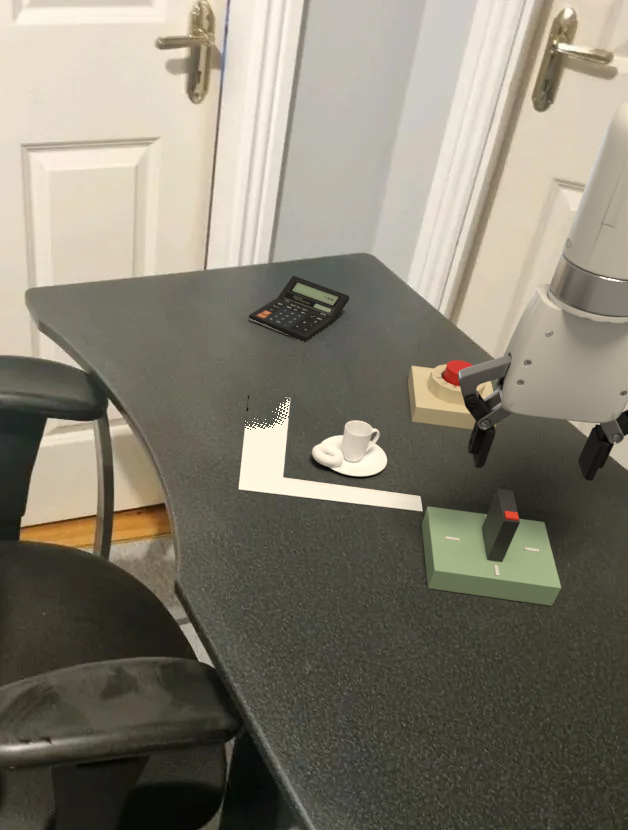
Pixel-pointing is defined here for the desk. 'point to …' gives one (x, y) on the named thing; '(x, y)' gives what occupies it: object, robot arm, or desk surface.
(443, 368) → the button base
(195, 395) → the desk surface
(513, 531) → the knob
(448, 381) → the button
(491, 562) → the panel
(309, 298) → the calculator
